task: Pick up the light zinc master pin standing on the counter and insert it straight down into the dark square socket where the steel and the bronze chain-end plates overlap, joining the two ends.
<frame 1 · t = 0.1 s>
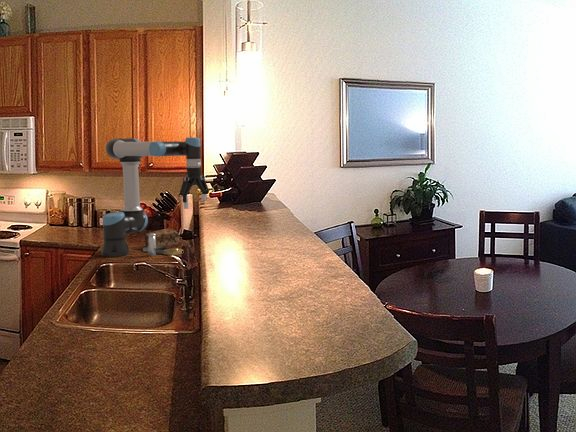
hand: (195, 207, 288), 28 cm above the counter, fingers open, 13 cm apart
master pin: (152, 255, 304), on the counter
bread: (162, 246, 331), on the counter
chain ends: (163, 252, 312), on the counter
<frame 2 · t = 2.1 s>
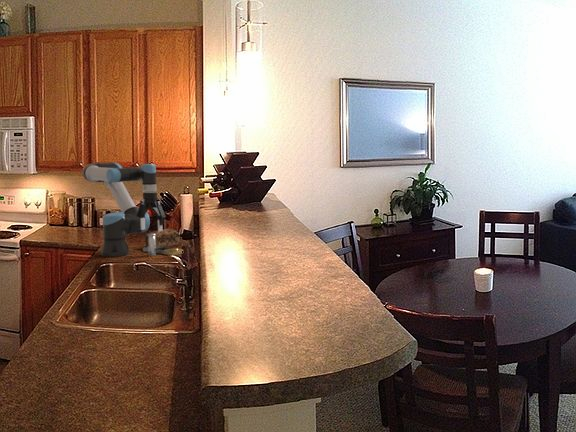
hand: (151, 230, 302), 14 cm above the counter, fingers open, 13 cm apart
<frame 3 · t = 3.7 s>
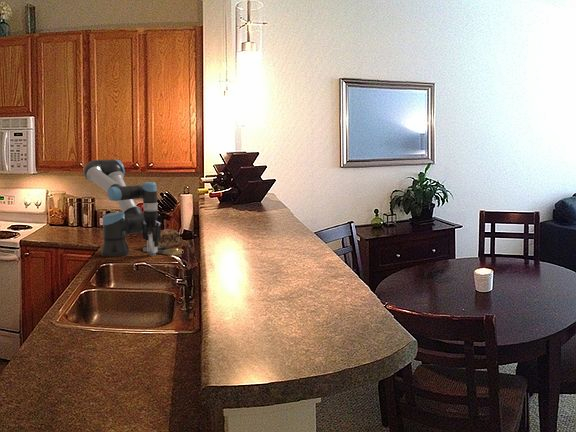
hand: (152, 251, 303), 2 cm above the counter, fingers closed on master pin, 4 cm apart
master pin: (152, 255, 304), on the counter, touching gripper
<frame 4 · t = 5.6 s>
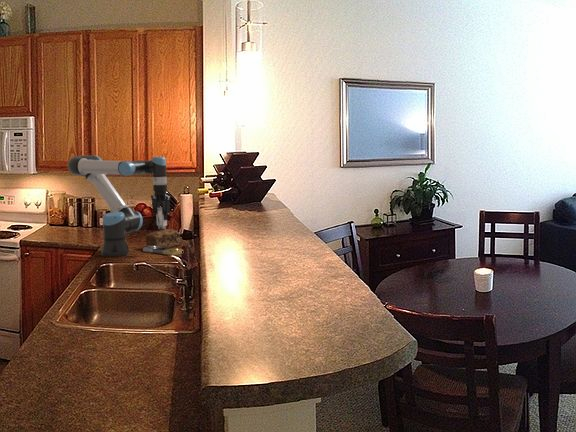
hand: (161, 225, 309), 16 cm above the counter, fingers closed on master pin, 4 cm apart
master pin: (162, 228, 309), point 14 cm above the counter, touching gripper
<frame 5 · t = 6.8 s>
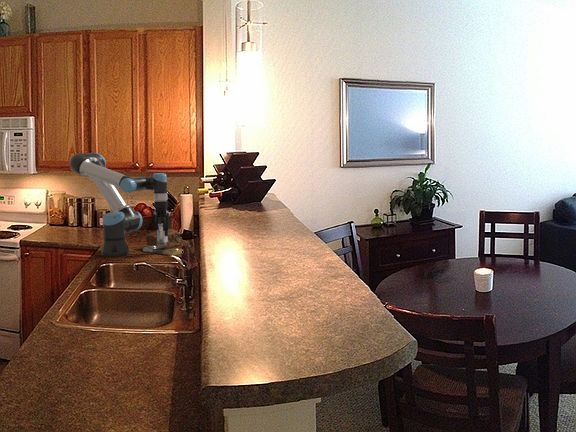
hand: (162, 241, 311), 6 cm above the counter, fingers closed on master pin, 4 cm apart
master pin: (162, 244, 311), point 5 cm above the counter, touching gripper
when the fingers open (3 cm above the counter, at t = 7.6 s): master pin drops 1 cm, resting in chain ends.
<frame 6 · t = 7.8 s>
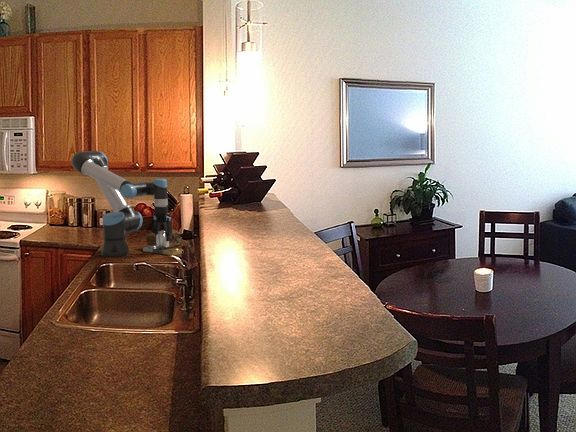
hand: (162, 246, 311), 4 cm above the counter, fingers open, 6 cm apart
master pin: (162, 252, 312), resting in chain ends
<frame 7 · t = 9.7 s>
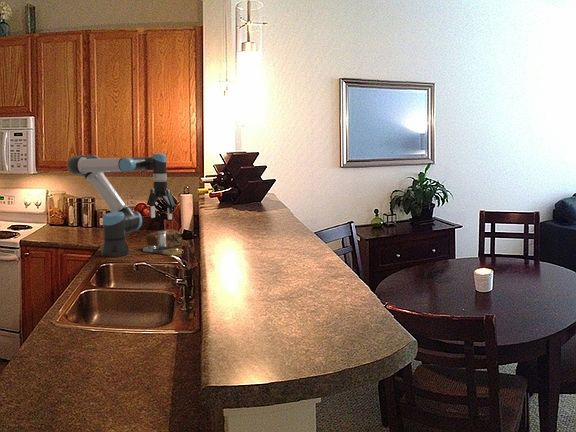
hand: (161, 218, 309), 19 cm above the counter, fingers open, 13 cm apart
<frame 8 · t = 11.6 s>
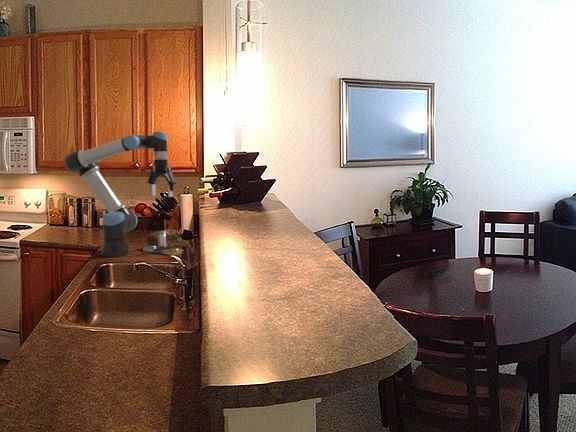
hand: (162, 196, 312), 32 cm above the counter, fingers open, 13 cm apart
at the end: master pin 0.1 cm off-centre on the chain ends, point 0.0 cm above the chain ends's base; master pin tilted 0°; the gripper is holding nothing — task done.
